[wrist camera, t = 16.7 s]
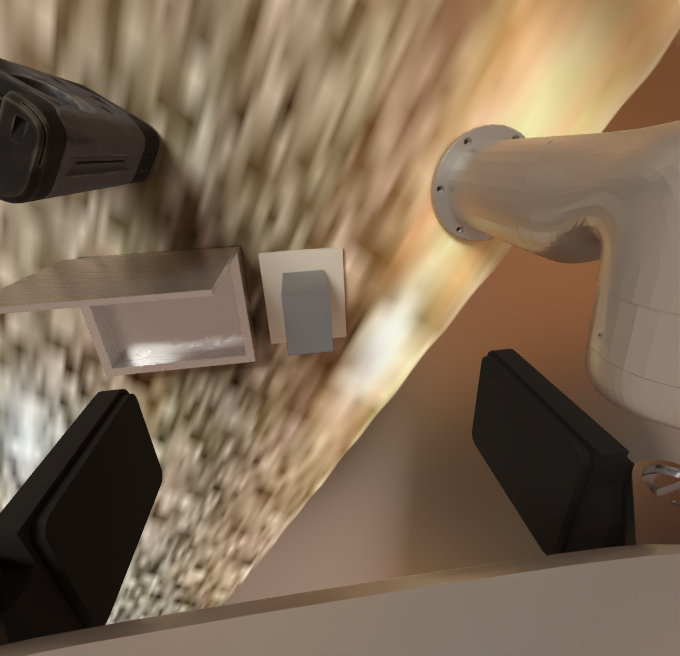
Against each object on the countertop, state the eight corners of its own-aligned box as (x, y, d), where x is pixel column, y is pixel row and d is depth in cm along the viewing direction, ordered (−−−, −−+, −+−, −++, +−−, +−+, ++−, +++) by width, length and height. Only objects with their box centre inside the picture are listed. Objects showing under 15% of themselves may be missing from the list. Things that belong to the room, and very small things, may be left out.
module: (323, 269, 45) (330, 291, 38) (327, 321, 48) (333, 351, 41) (282, 272, 45) (281, 295, 38) (288, 325, 48) (288, 355, 41)
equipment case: (239, 241, 43) (211, 289, 28) (257, 350, 49) (242, 437, 34) (77, 253, 42) (-47, 311, 26) (116, 364, 48) (35, 462, 33)
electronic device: (167, 134, 38) (55, 117, 20) (146, 187, 40) (26, 215, 22) (69, 75, 35) (-166, -7, 17) (51, 136, 37) (-178, 119, 19)
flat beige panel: (341, 246, 45) (342, 247, 44) (345, 334, 50) (346, 336, 50) (258, 253, 44) (258, 254, 43) (271, 342, 49) (271, 344, 49)
